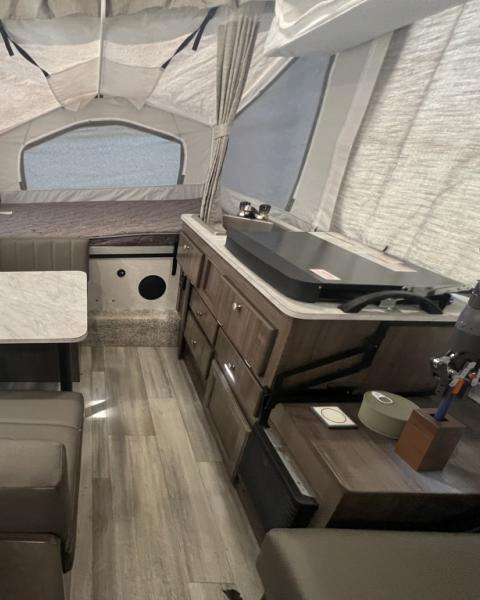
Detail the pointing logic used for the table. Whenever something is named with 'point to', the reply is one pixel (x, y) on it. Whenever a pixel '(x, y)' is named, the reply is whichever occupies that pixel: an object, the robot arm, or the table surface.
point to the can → (385, 413)
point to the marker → (447, 403)
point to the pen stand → (428, 440)
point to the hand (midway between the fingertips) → (449, 396)
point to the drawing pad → (333, 417)
